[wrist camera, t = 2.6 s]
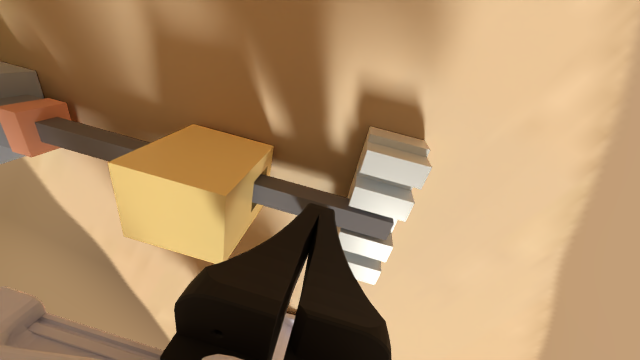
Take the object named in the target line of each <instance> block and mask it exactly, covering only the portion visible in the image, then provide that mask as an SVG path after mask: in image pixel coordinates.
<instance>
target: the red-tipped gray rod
mask: <svg viewBox="0 0 640 360" xmlns="http://www.w3.org/2000/svg"><path fill="white" fill-rule="evenodd" d="M0 123H1V125H2V128H3V130H4V133H5V135H6V137H7V140H8V142H9V145H10V147H11V149H12V152H15V153H19V154H22V155H25V156H29V157H34V156H37V155H40V154H43V153H46V152H49V151H52V150H55V149H58V148H64V149H68V150H71V151H75V152H78V153H82V154H85V155H89V156H92V157H96V158H99V159H103V160H106V161H111V160H114V159H116V158H118V157H120V156H123V155H125V154H127V153H129V152H132V151H134V150H136V149H138V148H141V147H143V146H145V145H147V144H150V143H149V142H145V141H142V140H138V139H135V138H131V137H128V136H124V135H120V134H117V133H113V132H110V131H106V130H103V129H99V128H95V127H92V126H88V125H85V124H81V123H78V122H74V121H71V118H70V114H69V110H68V107H67V103H65V102H61V101H58V100H54V99H50V98H45V99H39V100H33V101H27V102H21V103H15V104H8V105H2V106H0ZM349 200H350V199H349V198H345V197H342V196H338V195H334V194H331V193H327V192H324V191H320V190H317V189H313V188H310V187H306V186H302V185H299V184H295V183H292V182H288V181H285V180H281V179H277V178H274V177H270V176H267V175H263V174H260V176H259V177H258V178H257V179H256V180H255V181H254V187H253V197H252V202H253V203H256V204H260V205H263V206H267V207H270V208H274V209H277V210H281V211H284V212H288V213H291V214H295V215H299V214H300V213H301V212H302V211H303V210H304V208H305V207H306V206H307V204H309V203H313V204H316V205H320V206H323V207H327V208H330V209H334V211H335V221H336V226H337V227H340V228H344V229H347V230H351V231H354V232H358V233H361V234H365V235H368V236H372V237H375V238H379V239H382V240H387V237H388V235H389V233H390V231H391V229H392V226H393V224H394V221H393V218H390V217H386V216H383V215H379V214H376V213H372V212H369V211H365V210H361V209H358V208H354V207H351V206H349Z"/></svg>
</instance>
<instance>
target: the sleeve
mask: <svg viewBox="0 0 640 360" xmlns="http://www.w3.org/2000/svg"><path fill="white" fill-rule="evenodd" d="M273 148H274V146H272V145H268V144H265V143H261V142H257V141H254V140H250V139H246V138H243V137H239V136H235V135H232V134H228V133H224V132H221V131H217V130H213V129H210V128H206V127H203V126H199V125H195V124H192V125H190V126H188V127H186V128H183V129H181V130H179V131H177V132H174V133H172V134H170V135H168V136H165V137H163V138H161V139H159V140H156V141H154V142H152V143H150V144H147V145H145V146H143V147H141V148H138V149H136V150H134V151H132V152H129V153H127V154H125V155H123V156H120V157H118V158H116V159H114V160H111V161H109V162H108V167H109V171H110V176H111V180H112V185H113V189H114V194H115V199H116V203H117V208H118V212H119V217H120V221H121V226H122V231H123V235H124V237H128V238H131V239H134V240H138V241H141V242H144V243H148V244H151V245H154V246H158V247H161V248H164V249H167V250H171V251H174V252H177V253H181V254H184V255H187V256H191V257H194V258H197V259H201V260H204V261H207V262H211V263H214V264H217V263H220V262H223V261H226V260H227V259H228V258H229V256H230V255H231V253H232V252H233V250H234V249H235V247H236V246H237V244H238V243H239V241H240V240H241V238H242V237H243V235H244V234H245V232H246V231H247V229H248V228H249V226H250V225H251V223H252V222H253V220H254V219H255V217H256V216H257V214H258V213H259V211H260V210H261V208H262V207H263V205H260V204H256V203H253V202H252V197H253V187H254V181H255V180H256V179H257V178H258V177H259V176H260V174H263V175H267V176H270V170H271V163H272V155H273Z"/></svg>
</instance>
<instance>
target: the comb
mask: <svg viewBox="0 0 640 360" xmlns="http://www.w3.org/2000/svg"><path fill="white" fill-rule="evenodd" d="M429 151H430V149H429V147H428V145H427V143H426V142H425V140H421V139H417V138H413V137H410V136H406V135H402V134H398V133H394V132H391V131H387V130H383V129H379V128H376V127H372V126H370V128H369V131H368V134H367V137H366V140H365V143H364V146H363V149H362V152H361V156H360V159H359V162H358V165H357V168H356V171H355V174H354V177H353V180H352V183H351V187H350V190H349V193H348V196H347V198H349V199H350V200H349V206H351V207H354V208H358V209H361V210H365V211H369V212H372V213H376V214H379V215H383V216H386V217H390V218H393V221H394V224H393V226H392V229H391V231H390V233H389V235H388V237H387V240H382V239H379V238H375V237H372V236H368V235H365V234H361V233H358V232H354V231H351V230H347V229H344V228H340V227H337V231H338V235H339V239H340V243H341V246H342V249H343V252H344V254H345V257H346V259H347V262H348V264H349V266H350V268H351V270H352V273H353V275H354V277H355V278H356V280H359V281H362V282H366V283H369V284H373V285H375V283H376V281H377V279H378V277H379V275H380V273H381V261H383V262H386V261H387V259H388V257H389V254H390V252H391V250H392V248H393V242H392V231H393V229H394V227H395V224H396V222H397V220H400V221H404V222H406V220H407V218H408V216H409V213H410V211H411V209H412V207H413V205H414V199H413V196H412V192H411V190H412V188H413V187H414V188H418V189H422V187H423V185H424V183H425V181H426V179H427V177H428V174H429V172H430V170H431V168H432V167H431V165H430V163H429V161H428V159H427V156H428V154H429Z"/></svg>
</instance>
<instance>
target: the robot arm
mask: <svg viewBox="0 0 640 360" xmlns="http://www.w3.org/2000/svg"><path fill="white" fill-rule="evenodd" d="M307 256H308V259H307ZM306 259H307V265H306V270H305V276H304V281H303V287H302V292H301V297H300V301H299V305H298V309H297V312H296V316H295V315H292V314H288V313H286V311H287V308H288V305H289V302H290V298H291V296H292V293H293V290H294V288H295V285H296V283H297V280H298V278H299V276H300V273H301V271H302V268H303V266H304V263H305V261H306ZM174 312H175V322H176V331H177V332H176V334H175V335H174V337H173V338H172V340H171V341H170V343H169V344H168V346H167V347H166V349H165V350H161V349H158V348H155V347H152V346H149V345H146V344H142V343H139V342H136V341H133V340H130V339H127V338H124V337H120V336H117V335H114V334H111V333H108V332H105V331H102V330H99V329H96V328H93V327H90V326H87V325H84V324H80V323H77V322H74V321H71V320H68V319H65V318H62V317H59V316H56V315H53V314H49V313H46V310H45V306H44V304H43V303H42V301H41V300H39V299H38V298H37V297H35V296H33V295H31V294H28V293H25V292H21V291H18V290H15V289H12V288H9V287H6V286H4V287H0V360H391V346H390V340H389V335H388V330H387V326H386V322H385V320H384V319H383V318H382V317H381V315H380V314H379V313H378V311H377V310H376V309H375V308H374V306H373V305H372V304H371V302H370V301H369V300H368V298H367V297H366V295H365V294H364V292H363V290H362V289H361V287H360V285H359V283H358V282H357V280H356V278H355V277H354V275H353V273H352V270H351V268H350V266H349V264H348V262H347V259H346V257H345V254H344V252H343V249H342V246H341V243H340V239H339V235H338V231H337V227H336V221H335V211H334V209H330V208H327V207H323V206H320V205H316V204H313V203H309V204H307V206H306V207H305V208H304V210H303V211H302V212H301V213H300V214H299V215H298V216H297V217H296V218H295V219H294V220H293V221H292V222H291V223H289V224H288V225H287V226H286V227H285V228H283V229H282V230H281V231H280V232H278V233H277V234H276V235H274V236H273V237H271V238H270V239H268V240H267V241H265V242H263V243H262V244H260V245H258V246H256V247H255V248H253V249H251V250H249V251H247V252H245V253H242V254H240V255H238V256H236V257H234V258H231V259H229V260H226V261H223V262H220V263H217V264H214V265H211V266H208V267H205V268H204V269H203V270H202V271H201V272H200V273H199V274H198V275H197V276H196V278H195V279H194V280H193V281H192V282H191V283H190V284H189V285H188V287H187V288H186V289H185V291H184V292H183V293H182V295H181V296H180V297H179V299H178V300H177V302H176V303H175V308H174Z"/></svg>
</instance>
